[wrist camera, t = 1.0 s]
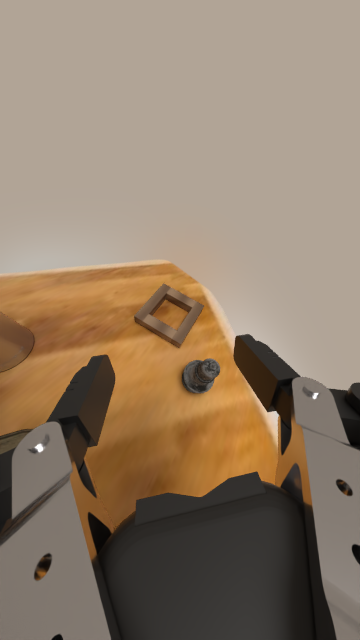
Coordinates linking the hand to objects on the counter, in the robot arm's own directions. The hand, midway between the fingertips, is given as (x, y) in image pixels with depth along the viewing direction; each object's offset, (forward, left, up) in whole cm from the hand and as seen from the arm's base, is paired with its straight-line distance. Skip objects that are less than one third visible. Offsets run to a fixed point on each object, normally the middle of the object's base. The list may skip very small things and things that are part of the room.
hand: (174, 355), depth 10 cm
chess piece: (+5, +5, -23) cm, 24 cm away
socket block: (-7, +15, -23) cm, 29 cm away
